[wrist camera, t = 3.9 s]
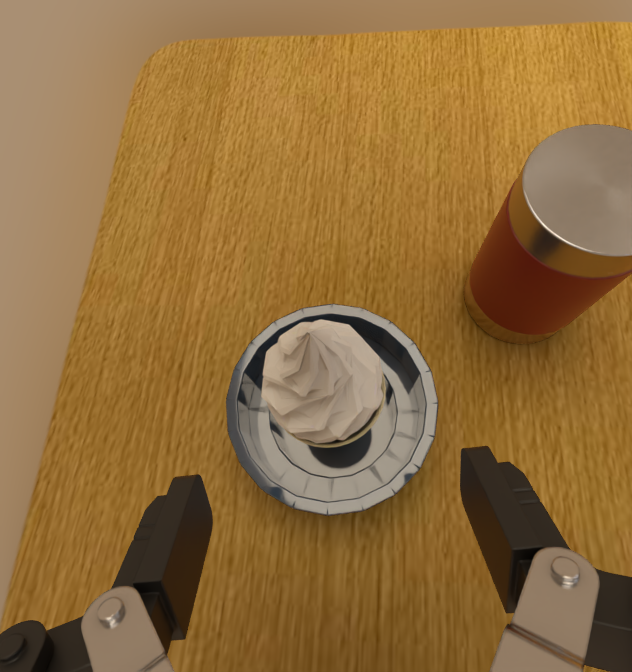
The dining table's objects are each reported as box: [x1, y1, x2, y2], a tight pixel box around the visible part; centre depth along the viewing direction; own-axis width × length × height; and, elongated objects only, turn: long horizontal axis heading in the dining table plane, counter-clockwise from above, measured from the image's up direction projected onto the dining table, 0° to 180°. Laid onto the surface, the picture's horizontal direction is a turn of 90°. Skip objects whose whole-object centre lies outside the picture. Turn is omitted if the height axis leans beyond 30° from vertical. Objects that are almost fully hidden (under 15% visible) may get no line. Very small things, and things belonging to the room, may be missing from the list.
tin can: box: [464, 124, 632, 344], centre depth 24 cm, size 7×7×11 cm
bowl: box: [226, 304, 438, 516], centre depth 25 cm, size 10×10×6 cm
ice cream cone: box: [261, 319, 386, 448], centre depth 20 cm, size 5×5×15 cm
